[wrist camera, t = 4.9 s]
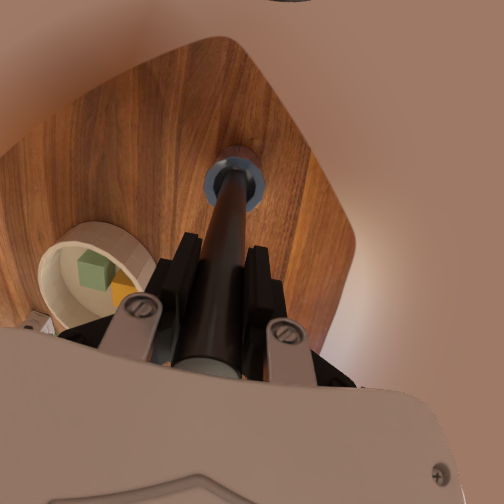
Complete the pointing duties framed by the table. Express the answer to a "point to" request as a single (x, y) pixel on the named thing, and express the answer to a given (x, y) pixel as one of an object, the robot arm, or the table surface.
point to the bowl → (67, 278)
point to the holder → (242, 161)
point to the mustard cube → (121, 287)
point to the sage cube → (95, 271)
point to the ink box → (38, 323)
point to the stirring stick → (217, 290)
